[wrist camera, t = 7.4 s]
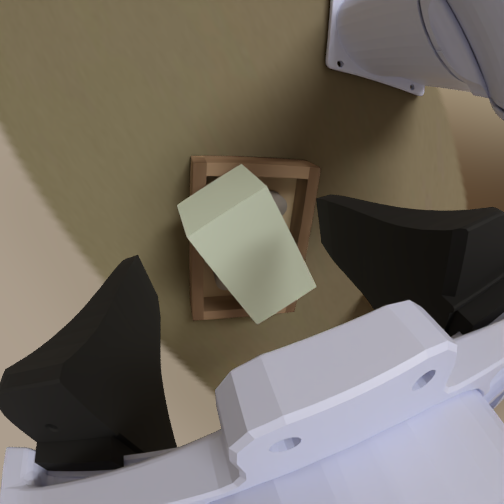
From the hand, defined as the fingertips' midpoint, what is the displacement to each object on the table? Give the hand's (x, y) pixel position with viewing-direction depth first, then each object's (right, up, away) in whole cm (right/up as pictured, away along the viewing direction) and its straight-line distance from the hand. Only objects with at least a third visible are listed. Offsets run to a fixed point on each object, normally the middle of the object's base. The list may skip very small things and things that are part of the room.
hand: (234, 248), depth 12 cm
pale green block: (0, +1, +8) cm, 8 cm away
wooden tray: (0, +1, +11) cm, 11 cm away
